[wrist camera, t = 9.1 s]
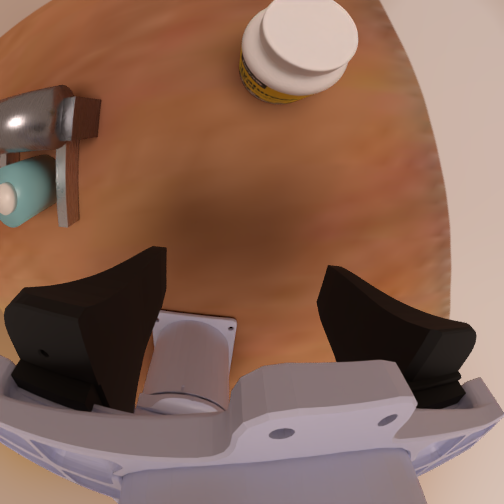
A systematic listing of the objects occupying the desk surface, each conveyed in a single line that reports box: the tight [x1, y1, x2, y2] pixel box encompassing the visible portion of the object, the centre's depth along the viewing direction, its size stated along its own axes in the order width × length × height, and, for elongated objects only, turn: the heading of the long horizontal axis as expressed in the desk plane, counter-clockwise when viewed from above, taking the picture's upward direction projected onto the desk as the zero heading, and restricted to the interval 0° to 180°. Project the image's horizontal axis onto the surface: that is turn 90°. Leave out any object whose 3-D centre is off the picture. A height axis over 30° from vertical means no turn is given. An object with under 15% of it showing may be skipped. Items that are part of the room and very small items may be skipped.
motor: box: [0, 85, 101, 227], centre depth 14 cm, size 11×12×6 cm
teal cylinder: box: [0, 155, 57, 227], centre depth 16 cm, size 5×5×6 cm
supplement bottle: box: [239, 0, 358, 104], centre depth 12 cm, size 5×5×10 cm
